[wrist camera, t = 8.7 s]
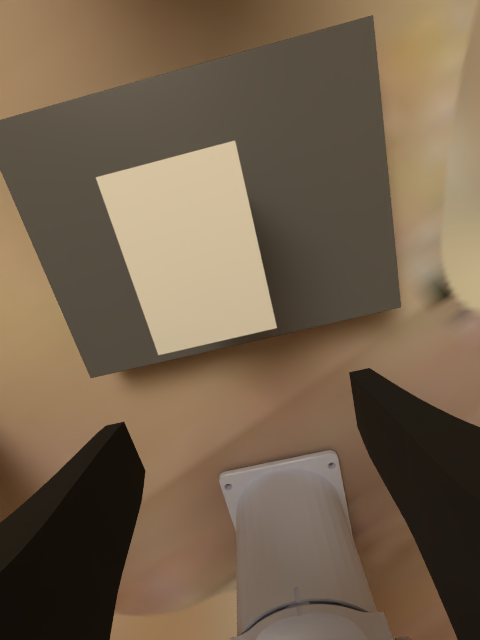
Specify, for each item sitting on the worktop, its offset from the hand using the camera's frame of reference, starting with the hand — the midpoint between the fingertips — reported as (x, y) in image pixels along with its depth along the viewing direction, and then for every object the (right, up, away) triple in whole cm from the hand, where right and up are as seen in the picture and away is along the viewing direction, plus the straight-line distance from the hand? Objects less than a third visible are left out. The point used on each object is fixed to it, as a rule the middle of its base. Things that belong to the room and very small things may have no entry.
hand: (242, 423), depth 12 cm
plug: (-1, +8, +5) cm, 9 cm away
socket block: (-1, +9, +8) cm, 12 cm away
